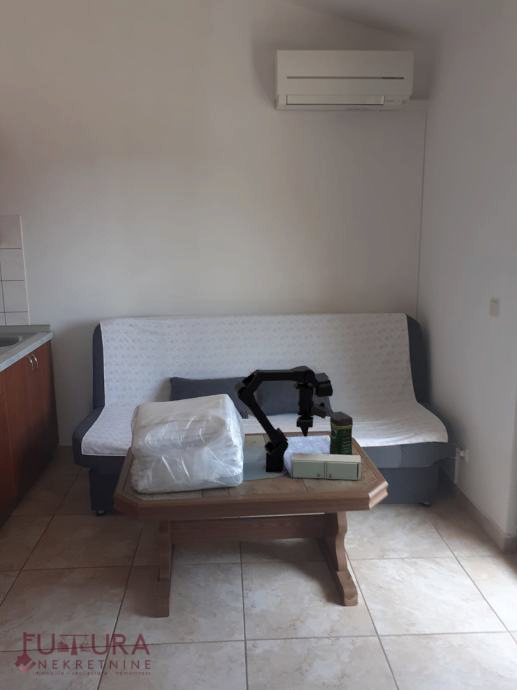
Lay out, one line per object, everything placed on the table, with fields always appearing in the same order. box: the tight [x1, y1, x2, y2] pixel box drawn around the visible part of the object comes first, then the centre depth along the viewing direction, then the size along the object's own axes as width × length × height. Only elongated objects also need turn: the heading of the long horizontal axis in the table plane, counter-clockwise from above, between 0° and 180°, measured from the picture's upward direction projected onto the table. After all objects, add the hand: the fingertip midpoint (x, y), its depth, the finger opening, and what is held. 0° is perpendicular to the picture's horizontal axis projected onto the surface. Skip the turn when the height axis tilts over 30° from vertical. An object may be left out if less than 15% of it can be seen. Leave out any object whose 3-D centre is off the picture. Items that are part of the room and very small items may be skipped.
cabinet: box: [290, 452, 362, 481], centre depth 211 cm, size 26×8×7 cm, turn 83°
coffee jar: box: [329, 411, 354, 455], centre depth 226 cm, size 10×8×19 cm
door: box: [290, 459, 325, 479], centre depth 209 cm, size 12×2×7 cm, turn 83°
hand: (305, 436), depth 219 cm, fingers closed
